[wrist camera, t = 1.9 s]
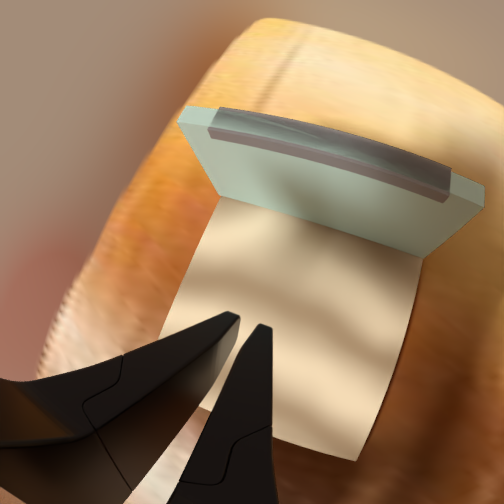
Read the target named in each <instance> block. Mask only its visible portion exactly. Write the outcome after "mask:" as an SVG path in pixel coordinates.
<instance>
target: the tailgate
mask: <svg viewBox="0 0 504 504" xmlns="http://www.w3.org/2000/svg"><path fill="white" fill-rule="evenodd" d="M177 124H178V125H179V127H180V129H181V131H182V132H183V134H184V136H185V137H186V139H187V141H188V143H189V144H190V146H191V148H192V149H193V151H194V153H195V155H196V156H197V158H198V160H199V161H200V163H201V165H202V167H203V168H204V170H205V172H206V174H207V175H208V177H209V179H210V180H211V182H212V184H213V186H214V187H215V189H216V191H217V192H218V194H219V195H221V196H225V197H228V198H232V199H235V200H239V201H243V202H246V203H250V204H253V205H257V206H260V207H264V208H267V209H271V210H274V211H278V212H281V213H284V214H288V215H291V216H294V217H298V218H301V219H304V220H308V221H311V222H314V223H317V224H321V225H324V226H327V227H330V228H333V229H337V230H340V231H343V232H346V233H349V234H352V235H355V236H358V237H361V238H365V239H368V240H371V241H374V242H377V243H380V244H383V245H385V246H388V247H391V248H394V249H397V250H400V251H403V252H406V253H409V254H412V255H414V256H417V257H420V258H423V259H424V258H425V257H426V256H428V255H429V254H430V253H431V252H433V251H434V250H435V249H436V248H438V247H439V246H440V245H441V244H443V243H444V242H445V241H446V240H447V239H449V238H450V237H451V236H452V235H453V234H455V233H456V232H457V231H458V230H459V229H460V228H462V227H463V226H464V225H465V224H466V223H467V222H469V221H470V220H471V219H472V218H473V217H474V216H475V215H476V214H478V213H479V212H480V211H481V210H482V209H483V208H484V202H485V186H483V185H481V184H479V183H477V182H475V181H472V180H470V179H468V178H465V177H463V176H461V175H458V174H456V173H454V172H451V168H450V167H447V166H445V165H442V164H440V163H437V162H435V161H432V160H429V159H427V158H424V157H421V156H419V155H416V154H413V153H410V152H407V151H405V150H402V149H399V148H396V147H393V146H390V145H387V144H383V143H380V142H377V141H374V140H371V139H367V138H364V137H360V136H357V135H353V134H350V133H346V132H343V131H339V130H335V129H331V128H327V127H323V126H319V125H315V124H311V123H306V122H302V121H297V120H293V119H288V118H283V117H278V116H273V115H268V114H262V113H257V112H251V111H245V110H238V109H232V108H225V107H220V108H219V109H211V108H203V107H194V106H186V107H185V109H184V110H183V112H182V114H181V115H180V117H179V118H178V120H177Z"/></svg>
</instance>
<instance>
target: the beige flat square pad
mask: <svg viewBox="0 0 504 504" xmlns="http://www.w3.org/2000/svg"><path fill="white" fill-rule="evenodd" d="M422 261H423V258H420V257H417V256H414V255H412V254H409V253H406V252H403V251H400V250H397V249H394V248H391V247H388V246H385V245H383V244H380V243H377V242H374V241H371V240H368V239H365V238H361V237H358V236H355V235H352V234H349V233H346V232H343V231H340V230H337V229H333V228H330V227H327V226H324V225H321V224H317V223H314V222H311V221H308V220H304V219H301V218H298V217H294V216H291V215H288V214H284V213H281V212H278V211H274V210H271V209H267V208H264V207H260V206H257V205H253V204H250V203H246V202H243V201H239V200H235V199H232V198H228V197H225V196H221V198H220V200H219V202H218V204H217V206H216V208H215V210H214V213H213V215H212V217H211V219H210V221H209V223H208V225H207V228H206V230H205V232H204V234H203V236H202V238H201V241H200V243H199V245H198V247H197V249H196V252H195V254H194V256H193V258H192V261H191V263H190V265H189V267H188V270H187V272H186V274H185V276H184V279H183V281H182V283H181V286H180V288H179V290H178V293H177V295H176V297H175V300H174V302H173V304H172V307H171V309H170V311H169V314H168V316H167V319H166V321H165V323H164V326H163V328H162V331H161V333H160V336H159V338H158V340H159V339H162V338H164V337H167V336H169V335H171V334H174V333H176V332H179V331H181V330H183V329H186V328H188V327H190V326H193V325H195V324H197V323H200V322H202V321H204V320H207V319H209V318H211V317H214V316H216V315H218V314H220V313H223V312H225V311H230V312H233V313H235V314H238V315H240V317H241V321H240V327H239V332H238V337H237V340H236V343H235V345H234V347H233V349H232V351H231V353H230V355H229V357H228V359H227V360H226V362H225V364H224V366H223V368H222V370H221V372H220V374H219V376H218V377H217V379H216V381H215V383H214V385H213V386H212V388H211V389H210V391H209V392H208V393H207V395H206V396H205V398H204V399H203V400H202V402H201V403H200V404H199V406H200V407H202V408H204V409H207V410H209V411H212V409H213V407H214V405H215V402H216V400H217V398H218V396H219V394H220V391H221V389H222V387H223V385H224V383H225V380H226V378H227V376H228V374H229V371H230V369H231V367H232V365H233V362H234V360H235V358H236V356H237V354H238V352H239V350H240V348H241V347H242V345H243V344H244V343H245V341H246V340H247V338H248V337H249V336H250V334H251V333H252V331H253V330H254V329H255V327H256V326H257V325H258V324H259V323H262V324H264V325H267V326H270V327H272V328H273V425H272V427H273V437H275V438H278V439H281V440H284V441H287V442H290V443H293V444H296V445H299V446H302V447H305V448H309V449H312V450H315V451H319V452H322V453H326V454H329V455H333V456H336V457H340V458H344V459H348V460H352V461H356V460H357V458H358V456H359V454H360V452H361V450H362V448H363V446H364V443H365V441H366V439H367V437H368V435H369V432H370V430H371V428H372V425H373V423H374V421H375V418H376V416H377V414H378V411H379V409H380V406H381V404H382V401H383V398H384V396H385V393H386V390H387V388H388V385H389V382H390V379H391V377H392V374H393V371H394V368H395V365H396V362H397V359H398V356H399V353H400V349H401V346H402V343H403V340H404V336H405V333H406V329H407V326H408V322H409V318H410V314H411V311H412V307H413V303H414V298H415V294H416V290H417V286H418V281H419V276H420V272H421V267H422Z"/></svg>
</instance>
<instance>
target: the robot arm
mask: <svg viewBox="0 0 504 504" xmlns="http://www.w3.org/2000/svg"><path fill="white" fill-rule="evenodd" d="M240 321H241V317H240V315H238V314H235V313H233V312H230V311H225V312H223V313H220V314H218V315H216V316H214V317H211V318H209V319H207V320H204V321H202V322H200V323H197V324H195V325H193V326H190V327H188V328H186V329H183V330H181V331H179V332H176V333H174V334H171V335H169V336H167V337H164V338H162V339H159V340H157V341H155V342H152V343H150V344H147V345H145V346H142V347H140V348H137V349H135V350H132V351H130V352H127V353H125V354H124V355H120V356H117V357H115V358H112V359H109V360H107V361H104V362H101V363H98V364H95V365H93V366H89V367H86V368H82V369H79V370H75V371H71V372H67V373H63V374H59V375H55V376H51V377H47V378H42V379H38V380H33V381H25V382H18V381H10V380H6V379H2V378H0V504H123V503H124V502H125V500H126V499H127V498H128V497H129V495H130V494H131V493H132V491H133V490H134V489H135V488H136V487H137V485H138V484H139V483H140V482H141V480H142V479H143V478H144V477H145V475H146V474H147V473H148V472H149V470H150V469H151V468H152V467H153V465H154V464H155V463H156V461H157V460H158V459H159V458H160V456H161V455H162V454H163V452H164V451H165V450H166V449H167V447H168V446H169V445H170V443H171V442H172V441H173V439H174V438H175V437H176V435H177V434H178V433H179V431H180V430H181V429H182V427H183V426H184V425H185V423H186V422H187V421H188V419H189V418H190V417H191V415H192V414H193V413H194V411H195V410H196V409H197V407H198V406H199V404H200V403H201V402H202V400H203V399H204V398H205V396H206V395H207V393H208V392H209V391H210V389H211V388H212V386H213V385H214V383H215V381H216V379H217V377H218V376H219V374H220V372H221V370H222V368H223V366H224V364H225V362H226V360H227V359H228V357H229V355H230V353H231V351H232V349H233V347H234V345H235V343H236V340H237V337H238V332H239V327H240ZM272 425H273V328H272V327H270V326H267V325H264V324H262V323H259V324H258V325H257V326H256V327H255V329H254V330H253V331H252V333H251V334H250V336H249V337H248V338H247V340H246V341H245V343H244V344H243V345H242V347H241V348H240V350H239V352H238V354H237V356H236V358H235V360H234V362H233V365H232V367H231V369H230V371H229V374H228V376H227V378H226V380H225V383H224V385H223V387H222V389H221V391H220V394H219V396H218V398H217V400H216V402H215V405H214V407H213V409H212V411H211V413H210V416H209V418H208V420H207V422H206V424H205V426H204V429H203V431H202V433H201V435H200V437H199V439H198V441H197V443H196V446H195V448H194V450H193V452H192V454H191V456H190V458H189V460H188V462H187V465H186V467H185V469H184V471H183V473H182V475H181V477H180V479H179V482H178V483H177V485H176V487H175V489H174V491H173V493H172V495H171V497H170V498H169V500H168V502H167V503H166V504H279V501H278V495H277V488H276V481H275V473H274V463H273V427H272Z"/></svg>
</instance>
